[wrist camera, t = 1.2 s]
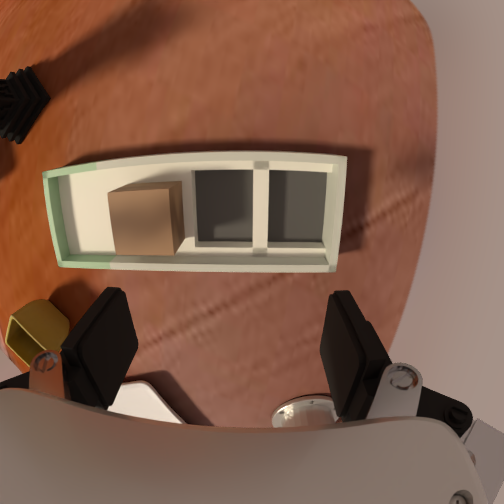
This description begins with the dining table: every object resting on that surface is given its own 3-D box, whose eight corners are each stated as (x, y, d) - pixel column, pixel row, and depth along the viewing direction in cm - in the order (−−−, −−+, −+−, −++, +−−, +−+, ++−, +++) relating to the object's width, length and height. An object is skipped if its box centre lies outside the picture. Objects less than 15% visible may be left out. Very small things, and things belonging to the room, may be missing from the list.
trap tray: (326, 256, 31) (335, 272, 28) (74, 254, 31) (58, 266, 28) (334, 154, 27) (347, 156, 23) (61, 167, 27) (42, 172, 23)
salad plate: (131, 435, 50) (128, 446, 47) (72, 377, 42) (65, 389, 39) (209, 432, 47) (208, 446, 44) (150, 367, 39) (145, 382, 36)
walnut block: (185, 238, 28) (174, 255, 24) (133, 238, 28) (115, 254, 24) (181, 180, 26) (168, 188, 22) (127, 184, 26) (107, 192, 22)
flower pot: (43, 283, 33) (10, 314, 25) (82, 320, 36) (55, 358, 27) (32, 312, 36) (4, 342, 27) (67, 345, 38) (43, 379, 30)
